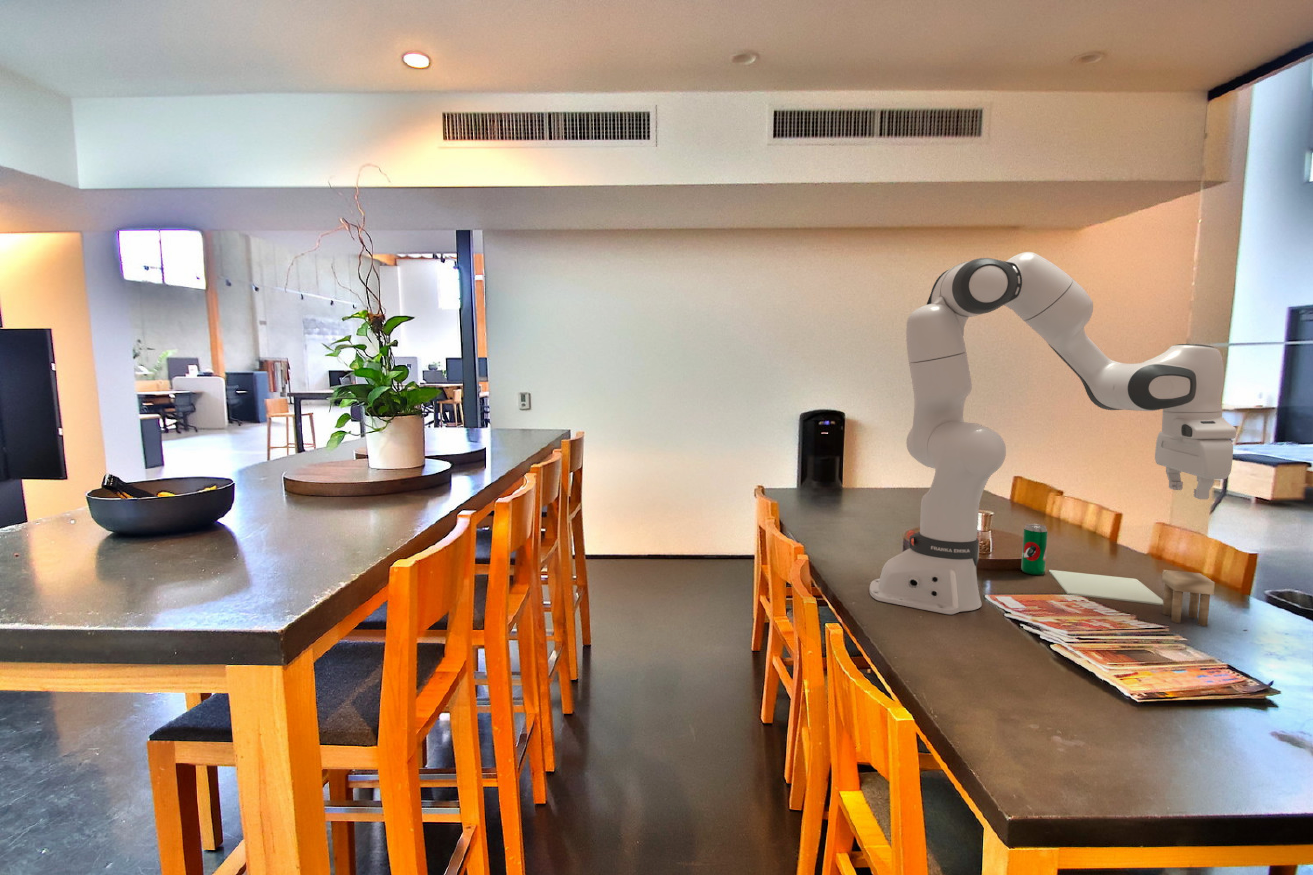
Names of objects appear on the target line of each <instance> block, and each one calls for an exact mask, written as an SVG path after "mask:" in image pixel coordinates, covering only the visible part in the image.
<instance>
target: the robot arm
mask: <svg viewBox="0 0 1313 875" xmlns="http://www.w3.org/2000/svg"><path fill="white" fill-rule="evenodd" d="M1003 306H1004V307H1007V308H1009V309H1010V310H1012V312H1014V313H1015V314H1016V316H1018V317H1019V319H1021V320H1022V321H1023V322H1024V323H1025V324H1027V325H1028V326H1029V327H1030V328H1031V329H1033V331H1035V333H1036V334H1038V335H1039V337H1040V336H1041V338H1042V339H1043V340H1044V341H1045V342H1046V343H1047V345H1048V346H1049V347H1050V348H1051V349H1052V350H1053V352H1054V353H1055V354H1056V355H1057V357H1059V358H1060V359H1061V360H1062V361H1063V362H1064V363H1065V364H1066V365H1067V366H1068V368H1070V369H1071V371H1073V373H1074V374H1076V376H1077V377H1078V378H1079V379H1080V381H1081V383H1082V385H1083V388H1084V390H1085V392H1086V395H1087V397H1088V398H1089V399H1090V401H1091V402H1092V404H1094V405H1095V406H1097V407H1098V408H1100V409H1102V410H1107V411H1123V410H1125V411H1136V412H1138V411H1139V412H1141V411H1143V412H1154V411H1161V410H1162V416H1161V418H1162V420H1161V421H1162V422H1161V423H1162V424H1161V431H1160V432H1158V434H1157V437H1156V442H1155V452H1154V460H1155V464H1156V465H1158V466H1162V467H1165V474H1166V476H1167V479H1168V488H1169V489H1170V490H1174V491H1182V490H1183V486H1184V482H1183V481H1182V478H1181V477H1182V476H1181V473H1186V474H1189V475H1192V476H1195V477H1196V482H1197V486H1196V488H1193V497H1194V499H1195V498H1196V499H1197V500H1208V499H1209V498H1210V491H1211V489H1212V487H1213V485H1214V483H1215V480H1226V479H1228V477H1229V476H1230V474H1231V472H1232V467H1233V457H1234V445H1233V442H1232V440H1233V439H1236V436H1237V428H1236V427H1235V426H1234V425H1232V424H1231V423H1229V422H1228V421H1227V420H1226V418H1224V417H1223V408H1222V407H1223V406H1222V404H1221V395H1222V393H1223V391H1224V380H1225V379H1224V378H1225V376H1224V372H1225V370H1224V369H1225V368H1224V361H1223V357H1222V353H1221V351H1220V350H1219V349H1218V348H1216V347H1215V346H1211V345H1207V344H1198V343H1191V344H1190V343H1179V344H1173V345H1171V346H1169V348H1167V350H1166V351H1164V352H1163V353H1160V354H1159V355H1157V356H1155V357H1152V358H1150V359H1148V360H1144V361H1143V362H1139V363H1138V362H1137V363H1136V362H1135V363H1124V362H1119V361H1116V360H1113V359H1110V358H1109V357H1108V356H1107V355H1105V353H1104V352H1103V351H1102V350H1101V349H1100V348H1099V346H1097V345H1096V344H1095V342H1094V341H1093V340H1091V338H1090V337H1089V336H1088V335H1087V333H1086V331H1085V327H1086V326H1087V324H1088V323H1089V322H1090V321H1091V318H1092V315H1093V312H1094V302H1093V300H1092V298H1091V296H1090V295H1089V294H1088V292H1087V291H1086V289H1084V287H1083V286H1082V285H1081V284H1079V283H1078V282H1077V281H1076V280H1075V279H1074V278H1073V277H1071V276H1070V275H1069V274H1068V273H1067V272H1066V271H1064V270H1063V269H1062V268H1060V267H1059V266H1057V265H1055V263H1053V262H1051V261H1049V260H1048V259H1047V258H1045V257H1043V256H1041V255H1039V254H1038V253H1036V252H1031V251H1025V252H1021V253H1020V252H1019V253H1018V254H1016V255H1014V256H1012V257H1011V258H1009V259H1007V260H1006V261H1004V260H999V259H996V258H989V257H981V258H975V259H973V260H970V261H963V262H961V263H958V264H957V265H954V266H952V267H951V268H949V269H946V270H945V271H944V272H942V273H941V274H940V275H939V276H938V277H937V279H936V280H935V282H934V284H933V286H932V288H931V292H930V294H929V297H928V300H927V302H926V304H925V305H922V306H920V307H918V308H916V309H914V310H913V311H912V312H911V313H910V314H909V316H908V318H907V321H906V350H907V360H908V364H909V372H910V377H911V383H912V389H913V390H912V391H913V398H914V399H913V400H914V401H913V402H914V404H913V405H914V408H913V417H912V418H913V421H912V426H911V429H910V430H909V432H908V434H907V435H906V436H907V437H906V443H905V444H906V448H907V451H908V453H909V454H910V456H911V457H912V458H913V459H915V460H916V461H917V462H918V463H920V464H921V465H923V466H925V467H927V468H931V469H934V470H935V472H934V476H933V479H932V483H931V485H930V487H929V489H928V491H927V492H926V493H924V494H923V496H922V497H921V502H920V503H921V504H920V517H919V518H920V520H919V522H920V523H919V524H920V525H919V531H917V532H916V531H915V530H911V529H910V530H908V531H907V533H906V537H907V539H908V547H909V548H907V549H905V550H904V551H901V552H900V553H899V554H897V555H895V556H893V557H891V558H890V559H887V560H886V562H885V563H884V565H883V567H882V569H881V571H880V576H879V578H875V579H874V580H872V581H871V582H870V584H869V589H868V590H869V594H870V596H871V598H873V599H875V600H876V601H879V602H884V603H888V604H893V605H898V606H899V605H900V606H902V607H904V606H905V607H909V608H912V609H913V608H914V609H919V610H924V611H929V612H934V613H940V614H945V615H955V614H957V613H959V612H961V613H962V612H969V611H970V612H971V611H975V610H977V609H979V608H981V607H982V605H983V603H982V599H981V597H980V592H979V586H978V577H977V566H978V562H979V555H980V543H979V539H978V537H977V536H978V521H979V510H980V504H981V500H982V496H983V493H984V490H985V488H986V486H987V483H988V481H989V479H990V477H992V475H993V474H995V473H996V472H997V471H998V470H999V469H1000V468H1001V467H1002V465H1003V464H1004V462H1005V459H1006V456H1007V448H1006V443H1005V440H1004V439H1003V437H1002V436H1001V435H1000V433H998V432H996V431H995V430H993V429H991V428H989V427H986V426H984V425H982V424H979V423H975V422H967V421H966V422H965V420H964V409H965V403H966V400H967V397H968V396H969V395H970V393H971V391H972V388H973V387H972V386H973V384H972V379H971V377H972V376H971V374H970V366H969V361H968V360H969V358H968V354H967V348H966V343H965V340H964V331H965V325H966V323H967V320H968V319H969V318H971V317H977V316H981V315H983V314H988V313H992V312H994V311H996V310H998V309H999V308H1001V307H1003Z"/></svg>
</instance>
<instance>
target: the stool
mask: <svg viewBox="0 0 1313 875" xmlns="http://www.w3.org/2000/svg"><path fill="white" fill-rule="evenodd" d="M1161 579H1162V580H1161V582H1162V583H1163V584H1164V590H1163V599H1162V600H1163V605H1162V615H1164V616H1171V618H1170V622H1172V623H1174V624H1175V623H1176V624H1181V619H1182V609H1183V608H1182V607H1183V595H1184V592H1185V593H1189V602H1188V611H1187V617H1188V618H1190V619H1197V625H1198V626H1201V627H1208V622H1209V621H1208V620H1209V611H1210V599H1211V595H1213V596H1214V594H1215V583H1216V582H1215V581H1213V580H1212V579H1210V578H1208V577H1207V576H1205V575H1204V574H1202V573H1200V572H1189V571H1180V570H1170V569H1162V578H1161Z"/></svg>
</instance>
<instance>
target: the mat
mask: <svg viewBox="0 0 1313 875" xmlns="http://www.w3.org/2000/svg"><path fill="white" fill-rule="evenodd" d="M1048 572H1049V573H1050V575H1051V576H1052V577H1053V578H1054V580H1055V581H1056V582H1057V583H1058V584H1059V586H1060V587H1061V588H1062V589H1063V590H1064V592H1065V593H1066V594H1067V595H1071V596H1080V597H1087V598H1090V597H1091V598H1098V599H1104V600H1106V599H1107V600H1112V601H1113V600H1114V601H1123V602H1130V603H1131V602H1132V603H1138V604H1139V603H1141V604H1148V605H1149V604H1150V605H1156V606H1163V600H1164V599H1162V598H1161V597H1160V596H1158V595H1157V593H1155V592H1153V591H1152V590H1151V589H1150V588H1148V587H1147V586H1146V585H1145V584H1144V583H1143V582H1141V581H1139V580H1138V579H1137V578H1131V577H1123V576H1122V577H1121V576H1114V575H1113V576H1111V575H1104V574H1102V575H1101V574H1093V573H1092V574H1091V573H1084V572H1073V571H1066V570H1065V571H1064V570H1055V569H1048Z"/></svg>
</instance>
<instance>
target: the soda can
mask: <svg viewBox="0 0 1313 875" xmlns="http://www.w3.org/2000/svg"><path fill="white" fill-rule="evenodd" d="M1022 532H1023V534H1022V535H1023V536H1022V551H1021V567H1020V570H1022V573H1025V574H1027V575H1032V576H1042V575H1044V574H1045V573H1046V566H1047V565H1046V563H1047V561H1046V560H1047V549H1048V534H1049V532H1048V529H1047V526H1045V525H1044V524H1039V523H1038V524H1037V523H1026V524H1025V527H1024V528H1023V531H1022Z"/></svg>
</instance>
